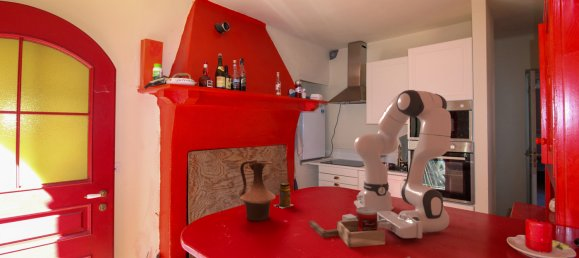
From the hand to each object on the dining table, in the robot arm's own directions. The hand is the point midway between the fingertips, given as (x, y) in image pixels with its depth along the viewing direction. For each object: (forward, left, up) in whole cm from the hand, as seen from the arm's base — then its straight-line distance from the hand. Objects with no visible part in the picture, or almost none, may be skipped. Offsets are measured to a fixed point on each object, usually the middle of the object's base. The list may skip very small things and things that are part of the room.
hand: (376, 224), depth 109 cm
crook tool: (-11, -18, -5) cm, 22 cm away
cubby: (0, -7, -5) cm, 8 cm away
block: (-13, -6, -5) cm, 15 cm away
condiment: (-49, -30, -5) cm, 58 cm away
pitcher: (-32, -45, -5) cm, 55 cm away
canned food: (0, -4, -5) cm, 7 cm away
